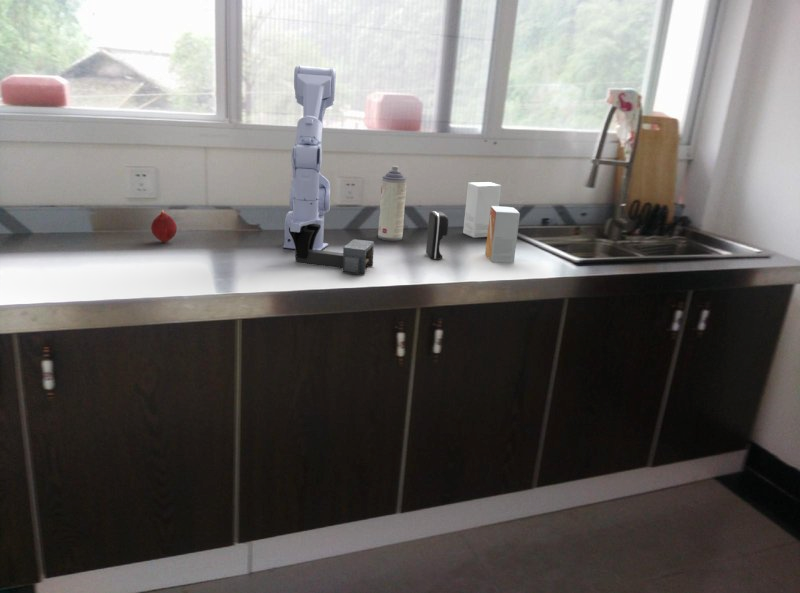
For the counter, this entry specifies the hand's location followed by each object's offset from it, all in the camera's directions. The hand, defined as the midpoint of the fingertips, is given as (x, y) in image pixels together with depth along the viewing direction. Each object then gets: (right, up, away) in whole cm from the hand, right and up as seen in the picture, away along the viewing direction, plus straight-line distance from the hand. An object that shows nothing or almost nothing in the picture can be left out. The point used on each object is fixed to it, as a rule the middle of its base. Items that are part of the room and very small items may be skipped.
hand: (304, 256), depth 150 cm
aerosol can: (+20, +7, +31) cm, 38 cm away
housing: (+13, -3, -2) cm, 13 cm away
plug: (+6, -2, -1) cm, 7 cm away
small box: (+48, 0, +18) cm, 52 cm away
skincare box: (+46, +9, +44) cm, 64 cm away
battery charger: (+32, +1, +15) cm, 35 cm away
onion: (-35, +4, +8) cm, 37 cm away
